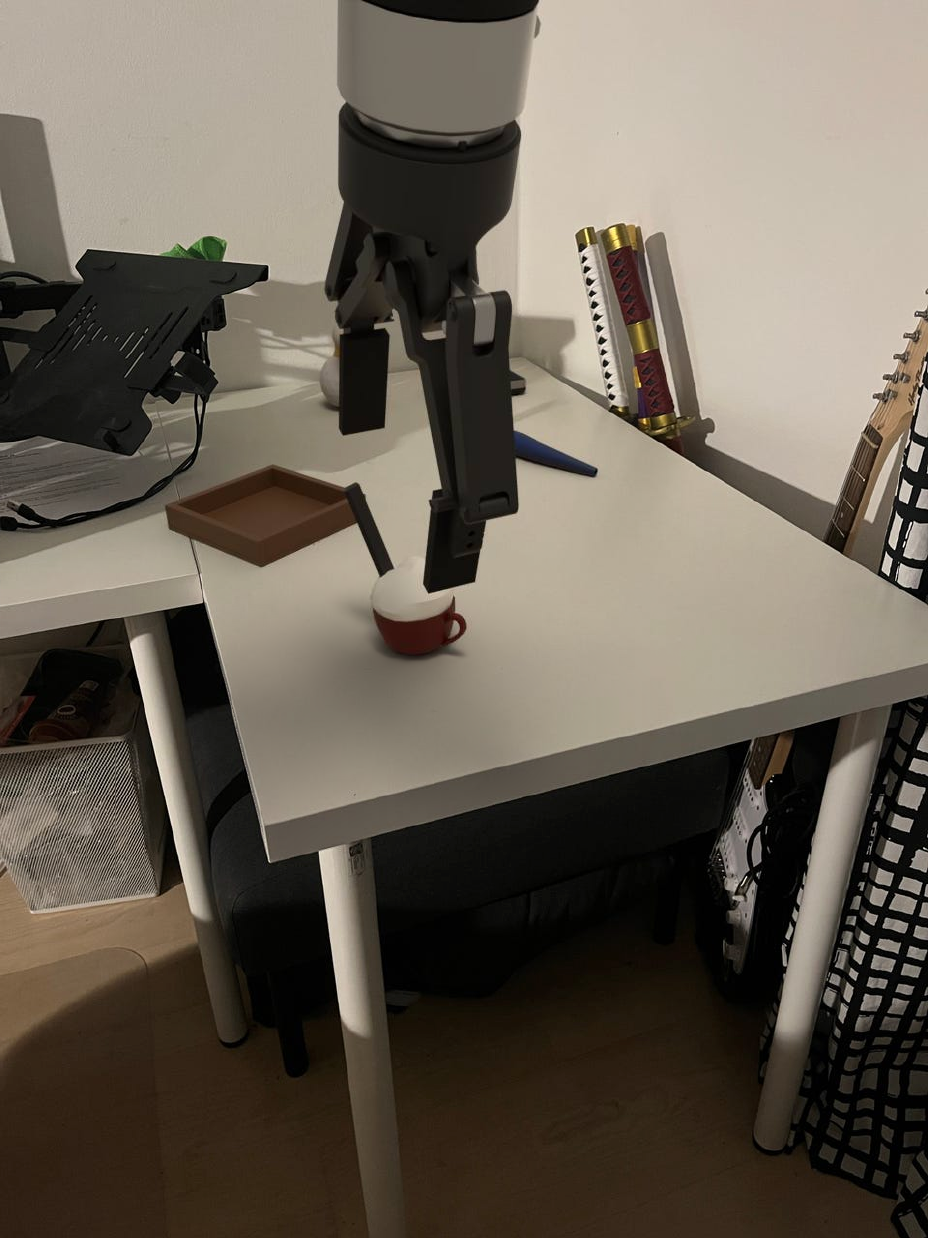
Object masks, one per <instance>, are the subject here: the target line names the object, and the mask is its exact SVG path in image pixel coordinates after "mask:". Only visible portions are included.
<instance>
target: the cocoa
mask: <svg viewBox="0 0 928 1238" xmlns="http://www.w3.org/2000/svg"><path fill="white" fill-rule="evenodd" d="M344 488H345V490H344V493H345V495H346V498H347V500H348V503H349V505H350V507H351V510H352V512H353V514H354V517H355V519H356V522H357V523H356V524H357V527H358V528H359V531H360V534H361V536H362V538H363V541H364V543H365V545H366V547H367V550H368V552H369V555H370V557H371V559H372V562H373V565H374V566H375V569H376V571H377V573H378V577H377V578H376V580H375V582H374V584H373V587H372V588H371V592H370V595H369V602H370V607H371V609H372V614H373V619H374V622H375V624H376V627H377V629H378V631H379V634H380V635H381V638H382V640H383V642H384V643H385V644H386V646H388V647H389V648H390V649H393V650H394V651H396V652H398V653H400V654H401V653H402V654H405V655H413V656H417V655H425V654H428V653H431V652H433V651H435V650H437V649H439V648H440V647H445V646H449V645H451V644H453V643H455V642H457V641H458V640H459V639H461V638H462V637H463V636H464V635H465V633H466V631H467V622H466V619H465V618H464V616H463V615H462V614H460V613H458V612H456V597H455V596H454V595H455V594H454V588H450V589H446V590H442V591H438V592H434V593H430V594H428V592H427V591H426V589H425V587H424V585H423V578H424V569H425V559H426V558H424V557H421V556H418V555H412V556H408V557H405V558H404V559H403V560H402V561H401V562H400V563H399V564H398V565H397V566H396V567H394V564H393V562H392V559H391V557H390V554H389V552H388V550H387V546H386V545H385V542H384V541H383V538H382V535H381V533H380V530H379V528H378V526H377V523H376V521H375V519H374V516H373V514H372V511H371V509H370V506H369V503H368V501H367V498H366V499H365V497H364V494H365V493H364V492H363V489H362V487H361V485H360V483H359V482H357V481H355V482H352V484H348V486H345V487H344ZM454 622H456V623H457V624H458V626H459V631H458V632H457V634H455V635H453V636H452V637H451V634H452V630H453V627H454Z"/></svg>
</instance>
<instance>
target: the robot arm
mask: <svg viewBox="0 0 928 1238" xmlns="http://www.w3.org/2000/svg"><path fill="white" fill-rule="evenodd" d="M539 3H540V0H337V29H336V30H337V31H336V32H337V36H336V37H337V39H336V40H337V42H336V43H337V44H336V46H337V47H336V86H337V89H338V91H339V94H340V96H341V97H342V99H343V100H344V101H345V102H344V103H343V105H342V106H341V107H340V109H339V111H338V134H337V135H338V138H337V141H338V143H337V144H338V146H337V147H338V149H337V150H338V151H337V163H338V164H337V186H338V187H337V188H338V191H339V195H340V197H341V200H342V201H343V204H342V209H341V212H340V213H341V214H340V216H339V220H338V221H339V222H338V226H337V229H336V233H335V234H336V235H335V237H334V241H333V247H332V251H331V255H330V260H329V264H328V268H327V272H326V276H325V281H324V288H323V289H324V294H325V296H326V298H327V301H328V302H329V303H330V302H337V305H336V306H335V310H334V320H335V322H336V323H337V325H338V327H339V328H340V329H343V334H340V342H339V407H338V430H339V432H340V433H341V435H342V436H343V437H344V436H350V435H355V434H360V433H365V432H371V431H376V430H382V429H386V416H387V415H386V414H387V413H386V412H387V396H388V395H387V394H388V374H389V359H390V357H389V356H390V341H391V339H390V338H391V335H390V333H389V331H388V330H387V328H386V327H381V328H375V325H379V324H386V323H392V322H395V319H394V318H392V317H394V314H393V310H395V311H396V312H397V314H398V319H399V323H400V324H399V325H400V329H401V335H402V339H403V345H404V351H405V354H406V357H407V358H408V359H409V360H410V361H411V362H414V363H415V364H417V366H418V369H419V374H420V380H421V385H422V390H423V396H424V402H425V406H426V412H427V418H428V423H429V428H430V434H431V439H432V444H433V449H434V455H435V460H436V467H437V472H438V476H439V477H438V478H439V482H440V488H439V489H433V490H432V494H431V498H430V499H428V504H429V507H430V514H429V521H428V532H427V542H426V550H425V558H424V559H425V569H424V578H423V585H424V587H425V589H426V591H427V592H428V594H430V593H434V592H438V591H442V590H446V589H450V588H453V589H454V588H457V587H462V586H465V585H469V584H473V583H476V579H477V574H478V567H479V562H480V556H481V550H482V548H483V542H484V538H485V532H486V524H487V521H491V520H494V519H499V518H503V517H508V516H512V515H516V514H517V513H518V512H519V507H520V506H519V505H520V503H519V488H518V473H517V472H518V471H517V459H516V457H517V455H515V440H514V430H515V427H514V425H515V424H514V412H513V411H514V409H513V397H512V396H513V394H511V379H510V370H511V367H510V365H511V364H510V350H509V349H510V339H511V329H512V328H511V327H512V317H513V302H512V297H511V295H510V293H509V292H508V291H507V290H505V289H502V290H496V291H489V292H486V291H485V290H484V289H483V288H482V287H481V286H480V277H479V271H478V259H477V256H478V254H477V253H478V252H477V245H478V244H479V242H480V241H481V240H482V239H483V237H485V236H486V234H487V233H489V232H490V231H491V230H493V228H494V227H496V226H497V225H499V224H500V223H502V221H504V219H505V218H506V216H507V215H508V214H509V211H510V210H511V208H512V207H511V206H512V203H513V197H514V191H515V190H514V189H515V183H516V176H517V168H518V162H519V155H520V147H521V140H522V130H521V128H520V125H519V123H518V121H517V120H516V119H517V118H518V117H519V116H520V115H522V113H523V111H524V109H525V106H526V105H525V104H526V96H527V90H528V89H527V88H528V84H529V83H528V81H529V75H530V67H531V61H532V54H533V47H534V39H536V38H537V37H538V36H539V34H540V32H541V31H540V30H541V25H542V23H541V20H540V18H539V15H538V8H539ZM336 323H335V324H336ZM440 331H442V333H443V334H444V335H445V337H442V338H435V339H427V338H426V337H425V336H424V334H426V333H433V332H440Z"/></svg>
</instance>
